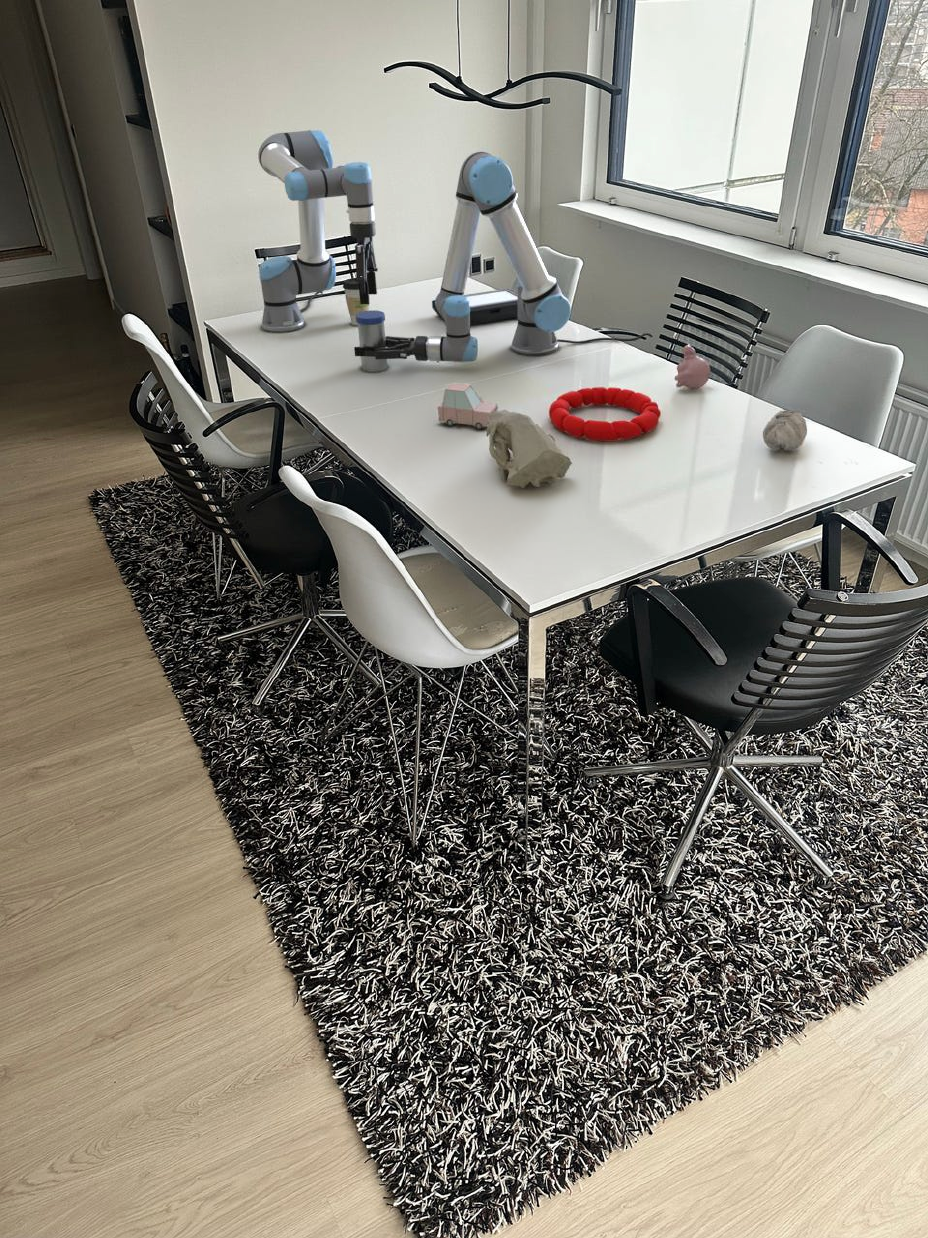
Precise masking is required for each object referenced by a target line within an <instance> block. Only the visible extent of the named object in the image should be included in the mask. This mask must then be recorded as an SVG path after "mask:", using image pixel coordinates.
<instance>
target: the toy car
mask: <svg viewBox="0 0 928 1238" xmlns="http://www.w3.org/2000/svg"><path fill="white" fill-rule="evenodd" d="M498 409H499V404H498V403H497V402H490V401H489V402H487V401H483V397H481V396H480V395H479V394H478V393H477V391H476V390H475V389H474V386H472V384H469V383H459V382H451V383H450V384H449V385H448V386H447V387H446V388H445V389H444V394H443V399H442V403H440V404H439V405H438V406H437V413H438V421H439V422H443V423H446V425H447V426H448V427H452V426H454V425H455V424H461V425H469V426H473V427H475V429H476V430H479V431H480V430H481V429H483V428H485V427H486V428H487V423H488V422H490V414H491V413H492V412H496V411H499V410H498Z"/></svg>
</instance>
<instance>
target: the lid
mask: <svg viewBox="0 0 928 1238" xmlns="http://www.w3.org/2000/svg"><path fill="white" fill-rule="evenodd" d="M356 322H357V323H359V324H363V325H373V324H379V323H382V322H384V323H385V322H386V314H385V312H384V311H381V310H369V311H363V312H359V313H357V314H356Z"/></svg>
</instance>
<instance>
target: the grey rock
mask: <svg viewBox="0 0 928 1238" xmlns="http://www.w3.org/2000/svg"><path fill="white" fill-rule="evenodd" d="M485 436H486V438H487V437H489V438H488V440H489V444H488V445H489V446H488V450H489V454H490V456H491V457H492V458H493V459H494V460H495V462H496V464H497V466H499V468H500V470H501V471H502V472H501V478H502V479H507V480H506V484H507V486H517V487H518V486H519V488H523V489H524V488H526V486H527V485H529V483H531V485H533V486H534V487H536V488H540V485H541V484H542V482H544V483H549V484H550V485H553V484H555V483H556V482H557V480H561V479H563V478H565V476H566V474H567V472H568V471H569V469H570V467H571V466H572V464H573V462H572V461H571V458H570V457H568V456H567V455H565V453H564V451H562V449H561V448H560V446H559V444H557V443H556V439H555V438H554V436H553V435H551V434H550V433H548V432H547V431H546V430H545V429H544V428H542V427H541V426H539V425H538V424H537V423H536V424H535V422H534V421H533V419H532V418H531V417H530V416H529V415H527V414H524V413H519V412H515V411H509V410H507V409H502V410H500V411H499V410H497V411H496V412H492V413H491V414H490V422H488V423H487V427H486V435H485ZM511 453H512V454H511ZM511 455H512V457H513V458H512V460H511ZM507 474H508V475H507Z"/></svg>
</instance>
